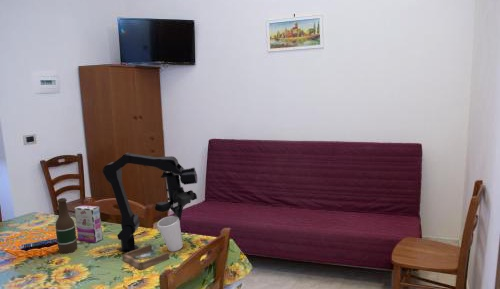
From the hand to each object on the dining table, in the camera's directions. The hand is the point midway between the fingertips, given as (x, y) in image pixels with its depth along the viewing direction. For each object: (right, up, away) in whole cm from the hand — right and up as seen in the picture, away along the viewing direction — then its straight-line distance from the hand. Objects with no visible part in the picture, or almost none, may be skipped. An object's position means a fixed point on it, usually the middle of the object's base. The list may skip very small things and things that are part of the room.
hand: (179, 219), depth 173 cm
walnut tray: (-12, -14, -9) cm, 21 cm away
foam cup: (-2, -12, 0) cm, 12 cm away
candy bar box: (-45, -13, +15) cm, 49 cm away
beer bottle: (-50, -15, +3) cm, 53 cm away
